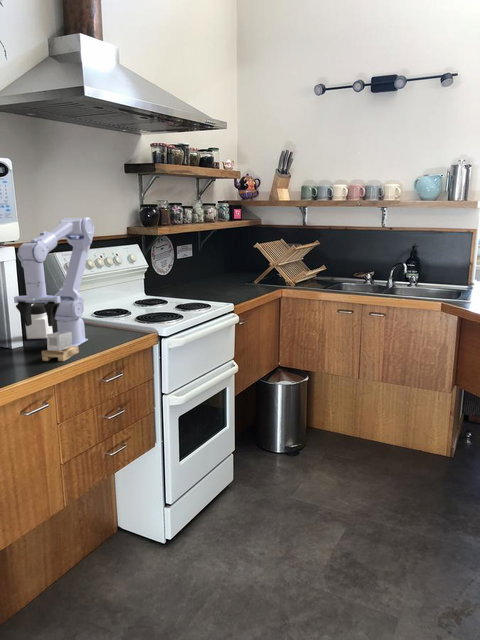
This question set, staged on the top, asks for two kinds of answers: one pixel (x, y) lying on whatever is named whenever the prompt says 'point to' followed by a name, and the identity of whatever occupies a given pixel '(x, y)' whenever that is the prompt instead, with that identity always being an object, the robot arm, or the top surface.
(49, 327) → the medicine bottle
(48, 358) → the stand
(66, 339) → the housing
